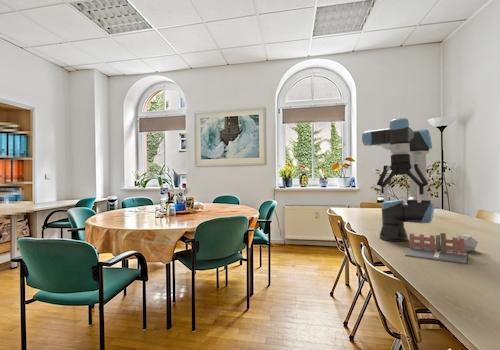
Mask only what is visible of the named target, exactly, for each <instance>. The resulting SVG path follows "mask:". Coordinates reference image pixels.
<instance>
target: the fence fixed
mask: <svg viewBox="0 0 500 350" xmlns="http://www.w3.org/2000/svg"><path fill="white" fill-rule="evenodd" d="M439 235H440V249H441V252H444V253H446V250H453V253H458V251H460V253H461V254H465V248H464V238H459V240H457V237H454V236H453V237H451V239H448V238H447V234H446V232H440V234H439ZM448 244H452V245H448ZM457 244H459V246H460V247H458V246H457Z"/></svg>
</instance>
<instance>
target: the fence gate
mask: <svg viewBox="0 0 500 350" xmlns="http://www.w3.org/2000/svg"><path fill="white" fill-rule="evenodd" d="M408 240H409V249H410V248H414V246H419V247H420V249H425V248H424V247H428V248H430V250H435V248H436V251H440V249H441V237H440V234H435V235H429V237H426V236H425V234H422V233H421V234H419V236H417V235H416V236H415V234H414V233H411V232H410V233H409V236H408ZM417 241H418V242H417ZM427 242H429V243H427Z"/></svg>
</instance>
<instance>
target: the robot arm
mask: <svg viewBox="0 0 500 350" xmlns="http://www.w3.org/2000/svg"><path fill="white" fill-rule="evenodd" d="M409 123H410V122H409V119H408V118H404V117H403V118H396V119H395V118H394V119H391V120H390V122H389V126H388V127H389V128H383V129H381V128H380V129H373V130H371V129H370V130H366V131H363V133H362V134H361V141H362V144H363V146H364V147H365V146H369V147H371V146H377V147H382V148H383V149H385V150H387V151H388V150H389V151H390V154H391V155H390V165H383V170H382V172H381V174H380V177H379V179H378V181H377V183H376V186H379V187H380V188H381V195H383V202H382V203H381V221H382V223H381V224H382V226H381V229H380V232H379V239H381V240H384V241H390V242H407V241H408V240H409V236H408V234H407V231H406V228H405V223H410V224H411V223H412V224H431V223H432V222H433V218H434V213H435V212H434V210H435V204H434V202H432V201H431V199H430V198H429V197H428V185H429V182H428V178H427V177H428V175H427V173H428V171H427V170H428V169H427V155H428V154H429V153H430V150H431V149H433V142H432V138H431V133H430V131H429V129H427V128H423V129H421V128H419V129H412V128H411V127H410V124H409ZM389 170H391V172H390V173H389V174H388V171H389ZM387 174H388V176H387ZM399 175H402V176H403V175H404V176H405V175H406V176H408V177H409V178H408V179H409V197H408V198H407V199H406V202H405V201H404V200H403V199H393V200H389V196H388V192H389V191H388V186H387V185H388V184H389V182H390V181H391V180H392V179H393V178H394V177H395V176H399ZM386 176H387V177H386ZM385 178H386V179H385Z"/></svg>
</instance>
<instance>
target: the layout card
mask: <svg viewBox="0 0 500 350" xmlns="http://www.w3.org/2000/svg"><path fill="white" fill-rule="evenodd" d="M424 248H425V249H420V246H414V248H410V247H409V249H408V250H407V252H406V253H405V254H404V256H405V257H412V258H419V259H426V260H434V261H439V260H440V261H442V262H447V261H448V262H447V263H454V262H455V263H456V264H460V265H461V264H464V265H467V264H468V263H467V262H468V261H467V260H468V252H465V254H461V253H460V251H458V253H453V250H449V249H446V253H444V252H441V248H440V251H436V247H435V250H430V247H424Z"/></svg>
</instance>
